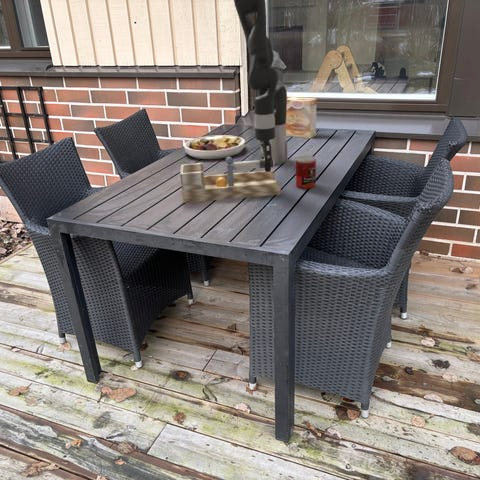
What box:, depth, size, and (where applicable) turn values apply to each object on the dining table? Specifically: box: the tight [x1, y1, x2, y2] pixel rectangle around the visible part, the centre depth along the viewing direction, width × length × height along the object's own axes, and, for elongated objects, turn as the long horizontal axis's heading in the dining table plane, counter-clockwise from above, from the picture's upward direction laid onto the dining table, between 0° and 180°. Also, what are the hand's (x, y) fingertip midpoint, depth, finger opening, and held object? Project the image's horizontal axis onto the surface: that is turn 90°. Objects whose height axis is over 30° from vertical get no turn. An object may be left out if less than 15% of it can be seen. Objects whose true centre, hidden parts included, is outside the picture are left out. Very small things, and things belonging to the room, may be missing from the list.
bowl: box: [183, 134, 246, 160], centre depth 237 cm, size 30×30×8 cm
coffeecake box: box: [286, 96, 317, 139], centre depth 253 cm, size 15×7×20 cm, turn 55°
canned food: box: [294, 155, 317, 190], centre depth 184 cm, size 8×8×11 cm
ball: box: [216, 177, 227, 187], centre depth 184 cm, size 4×4×4 cm
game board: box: [179, 162, 282, 204], centre depth 183 cm, size 36×16×10 cm, turn 95°
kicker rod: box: [225, 156, 276, 186], centre depth 182 cm, size 18×4×11 cm, turn 95°
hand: (266, 168), depth 183 cm, fingers open, 8 cm apart
